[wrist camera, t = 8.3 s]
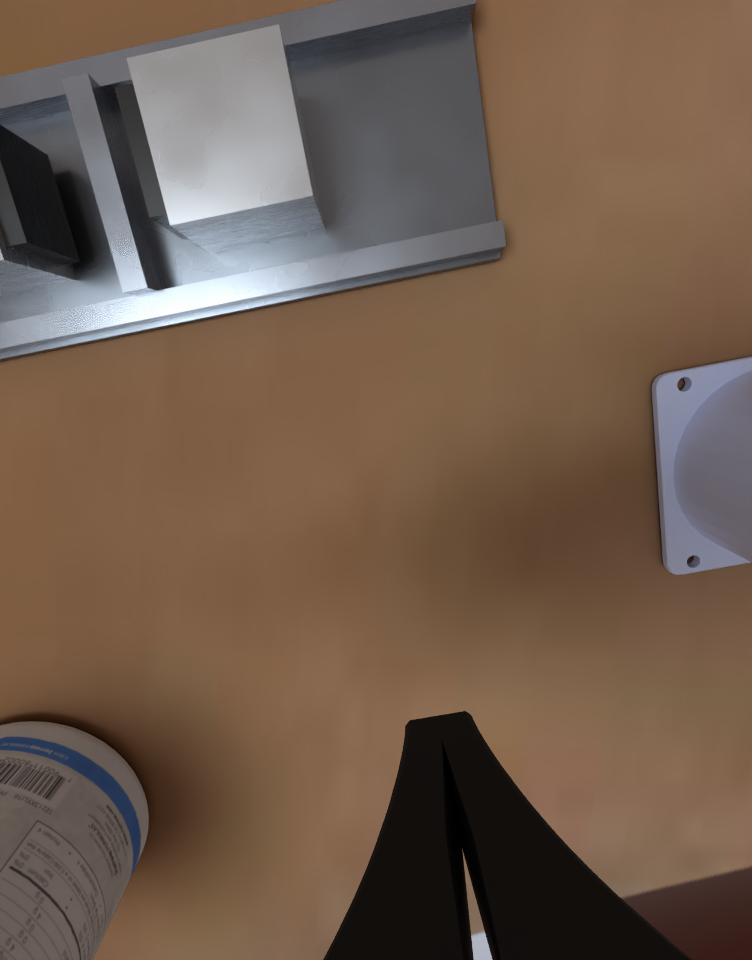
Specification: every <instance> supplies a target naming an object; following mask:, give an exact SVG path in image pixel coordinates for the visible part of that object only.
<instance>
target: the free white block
mask: <svg viewBox="0 0 752 960" xmlns="http://www.w3.org/2000/svg"><path fill="white" fill-rule="evenodd" d="M127 62H128V66H129V70H130V74H131V78H132V81H133V83H132V84H127V85H122V86H118V87H115V91H116V95H117V98H118V102H119V106H120V109H121V113H122V117H123V121H124V124H125V128H126V132H127V136H128V139H129V143H130V147H131V151H132V154H133V158H134V162H135V166H136V169H137V173H138V177H139V180H140V184H141V188H142V192H143V195H144V199H145V203H146V207H147V210H148V214H149V218H151V219H153V220H154V221H156V222H157V223H159V224H160V225H162V226H163V227H165V228H166V229H168V230H169V231H171V232H172V233H174V234H175V235H177V236H178V237H180V238H181V239H183V240H188V239H190V240H192V241H193V242H195V243H196V244H198V245H199V246H200V247H202V248H203V249H205V250H206V251H208V252H209V253H215V252H220V251H225V250H230V249H235V248H240V247H244V246H249V245H254V244H259V243H264V242H269V241H274V240H278V239H283V238H288V237H293V236H298V235H303V234H307V233H312V232H317V231H322V230H325V227H324V222H323V217H322V212H321V206H320V201H319V196H318V191H317V186H316V181H315V176H314V171H313V166H312V161H311V155H310V150H309V145H308V140H307V135H306V130H305V125H304V120H303V115H302V110H301V104H300V99H299V95H298V91H297V88H296V84H295V81H294V77H293V73H292V70H291V66H290V62H289V59H288V55H287V52H286V48H285V44H284V41H283V37H282V33H281V30H280V26H279V24H278V25H274V26H269V27H265V28H260V29H256V30H251V31H247V32H242V33H238V34H233V35H229V36H224V37H220V38H215V39H211V40H206V41H202V42H197V43H193V44H188V45H184V46H179V47H175V48H170V49H166V50H161V51H157V52H152V53H148V54H143V55H139V56H134V57H130V58H127Z"/></svg>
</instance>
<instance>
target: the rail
mask: <svg viewBox="0 0 752 960" xmlns="http://www.w3.org/2000/svg"><path fill="white" fill-rule="evenodd" d="M475 6H476V0H342V1H337V2H333V3H328V4H324V5H319V6H315V7H310V8H306V9H301V10H297V11H293V12H288V13H284V14H279V15H275V16H270V17H266V18H261V19H257V20H252V21H248V22H243V23H239V24H234V25H230V26H225V27H221V28H217V29H212V30H208V31H203V32H199V33H194V34H190V35H185V36H181V37H176V38H172V39H167V40H163V41H158V42H154V43H150V44H145V45H141V46H136V47H132V48H127V49H123V50H118V51H114V52H109V53H105V54H100V55H96V56H91V57H87V58H83V59H78V60H74V61H69V62H65V63H60V64H56V65H51V66H47V67H42V68H38V69H33V70H29V71H24V72H20V73H15V74H11V75H7V76H2V77H0V361H5V360H10V359H15V358H20V357H25V356H30V355H35V354H39V353H44V352H49V351H54V350H59V349H64V348H69V347H74V346H79V345H84V344H89V343H94V342H99V341H104V340H109V339H114V338H119V337H124V336H129V335H134V334H139V333H143V332H148V331H153V330H158V329H163V328H168V327H173V326H178V325H183V324H188V323H193V322H198V321H203V320H208V319H213V318H218V317H223V316H228V315H233V314H238V313H243V312H247V311H252V310H257V309H262V308H267V307H272V306H277V305H282V304H287V303H292V302H297V301H302V300H307V299H312V298H317V297H322V296H327V295H332V294H337V293H342V292H347V291H352V290H356V289H361V288H366V287H371V286H376V285H381V284H386V283H391V282H396V281H401V280H406V279H411V278H416V277H421V276H426V275H431V274H436V273H441V272H446V271H451V270H456V269H460V268H465V267H470V266H475V265H480V264H485V263H490V262H495V261H497V260H499V259H500V258H501V255H500V251H501V250H502V249H503V248H505V247H506V241H505V233H504V224H503V220H500V221H496V215H495V207H494V199H493V191H492V183H491V175H490V167H489V159H488V151H487V143H486V135H485V127H484V119H483V111H482V103H481V95H480V87H479V79H478V71H477V63H476V55H475V47H474V39H473V31H472V23H471V20H472V17H473V13H474V10H475ZM278 24H279V26H280V30H281V33H282V37H283V41H284V44H285V48H286V52H287V55H288V59H289V62H290V66H291V70H292V73H293V77H294V81H295V84H296V88H297V91H298V95H299V99H300V104H301V110H302V115H303V120H304V125H305V130H306V135H307V140H308V145H309V150H310V155H311V161H312V166H313V171H314V176H315V181H316V186H317V191H318V196H319V201H320V206H321V212H322V217H323V222H324V227H325V230H322V231H317V232H312V233H307V234H303V235H298V236H293V237H288V238H283V239H278V240H274V241H269V242H264V243H259V244H254V245H249V246H244V247H240V248H235V249H230V250H225V251H220V252H215V253H209V252H208V251H206V250H205V249H203V248H202V247H200V246H199V245H198V244H196V243H195V242H193V241H192V240H190V239H188V240H183V239H181V238H180V237H178V236H177V235H175V234H174V233H172V232H171V231H169V230H168V229H166V228H165V227H163V226H162V225H160V224H159V223H157V222H156V221H154V220H153V219H151V218H149V214H148V210H147V207H146V203H145V199H144V195H143V192H142V188H141V184H140V180H139V177H138V173H137V169H136V166H135V162H134V158H133V154H132V151H131V147H130V143H129V139H128V136H127V132H126V128H125V124H124V121H123V117H122V113H121V109H120V106H119V102H118V98H117V95H116V91H115V87H118V86H122V85H127V84H132V83H133V81H132V78H131V74H130V70H129V66H128V62H127V58H130V57H134V56H139V55H143V54H148V53H152V52H157V51H161V50H166V49H170V48H175V47H179V46H184V45H188V44H193V43H197V42H202V41H206V40H211V39H215V38H220V37H224V36H229V35H233V34H238V33H242V32H247V31H251V30H256V29H260V28H265V27H269V26H274V25H278Z"/></svg>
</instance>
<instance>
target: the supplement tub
mask: <svg viewBox="0 0 752 960" xmlns="http://www.w3.org/2000/svg"><path fill="white" fill-rule="evenodd" d="M148 828H149V814H148V806H147V800H146V796H145V793H144V791H143V788H142V786H141V783H140V782H139V780H138V778H137V776H136V774H135V773H134V771H133V770H132V768H131V767H130V766H129V765H128V763H127V762H126V761H125V760H124V759H123V758H122V757H121V756H120V755H119V754H118V753H117V752H116V751H115V750H114V749H113V748H111V747H110V746H109V745H107V744H106V743H104V742H103V741H101V740H99V739H98V738H96V737H94V736H92V735H90V734H88V733H86V732H84V731H81V730H79V729H76V728H73V727H70V726H66V725H61V724H57V723H51V722H38V721H27V722H15V723H10V724H4V725H0V960H93V958H94V956H95V954H96V952H97V949H98V947H99V945H100V943H101V941H102V939H103V937H104V934H105V932H106V930H107V928H108V926H109V924H110V922H111V920H112V917H113V915H114V913H115V911H116V909H117V907H118V904H119V902H120V900H121V898H122V896H123V894H124V891H125V889H126V887H127V885H128V883H129V881H130V879H131V876H132V874H133V872H134V869H135V867H136V865H137V863H138V861H139V858H140V856H141V854H142V851H143V849H144V846H145V842H146V839H147V834H148Z"/></svg>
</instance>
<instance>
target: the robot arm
mask: <svg viewBox="0 0 752 960" xmlns="http://www.w3.org/2000/svg"><path fill="white" fill-rule="evenodd" d="M680 378H683V379H684V380H685V386H684V387H683V389H682V390H679V389H678V387H677V383H678V381H679V380H680ZM652 402H653V417H654V432H655V448H656V463H657V478H658V494H659V509H660V524H661V539H662V555H663V564H664V567H665V568H666V569H667V570H668V571H669V572H671V573H673V574H675V575H683V574H689V573H694V572H700V571H706V570H711V569H717V568H723V567H728V566H734V565H740V564H745V563H751V562H752V356H750V357H745V358H740V359H735V360H729V361H724V362H719V363H714V364H709V365H703V366H698V367H693V368H688V369H682V370H677V371H672V372H667V373H663V374H660V375H659V376H658V377H656V378H655V380H654V382H653V383H652ZM693 555H694V559H693V561H692V562H691V563H689V564H687V559H688V558H689V557H690V556H693ZM462 849H463V852H462ZM463 853H464V856H465V860H466V864H467V867H468V871H469V875H470V878H471V882H472V886H473V889H474V893H475V897H476V900H477V904H478V908H479V911H480V915H481V919H482V922H483V926H484V930H485V933H486V937H487V941H488V944H489V948H490V952H491V955H492V959H493V960H692V959H691V958H690V957H689V956H687V955H686V954H685V953H684V952H682V951H681V950H680V949H679V948H677V947H676V946H675V945H674V944H672V943H671V942H670V941H669V940H668V939H667V938H665V937H664V936H663V935H662V934H661V933H660V932H659V931H657V930H656V929H655V928H654V927H653V926H652V925H651V924H650V923H648V922H647V921H646V920H645V919H644V918H643V917H642V916H640V915H639V914H638V913H637V912H636V911H635V910H634V909H632V908H631V907H630V906H629V905H628V904H626V902H624V901H623V900H622V899H621V898H620V897H619V896H618V895H617V894H615V893H614V892H613V891H612V890H611V889H610V888H609V887H608V886H607V885H606V884H605V883H604V882H603V881H602V880H601V879H600V878H599V877H598V876H597V875H596V874H595V873H594V872H593V871H592V870H591V869H590V868H589V867H588V866H587V865H586V864H585V863H584V862H583V861H582V860H581V859H580V858H579V857H578V856H577V855H576V854H575V853H574V852H573V851H572V850H571V849H570V848H569V847H568V846H567V845H566V844H565V843H564V841H563V840H562V839H561V838H560V837H559V836H558V835H557V834H556V833H555V832H554V830H553V829H552V828H551V827H550V826H549V825H548V824H547V822H546V821H545V820H544V819H543V818H542V817H541V815H540V814H539V813H538V812H537V811H536V809H535V808H534V807H533V806H532V805H531V804H530V802H529V801H528V800H527V799H526V797H525V796H524V795H523V794H522V792H521V791H520V790H519V788H518V787H517V786H516V784H515V783H514V782H513V780H512V779H511V778H510V776H509V775H508V774H507V772H506V771H505V770H504V768H503V767H502V766H501V764H500V763H499V761H498V760H497V759H496V757H495V756H494V754H493V752H492V751H491V749H490V748H489V746H488V745H487V743H486V742H485V740H484V738H483V737H482V735H481V733H480V732H479V730H478V728H477V726H476V724H475V722H474V720H473V718H472V716H471V715H470V714H469V713H468V712H466V711H463V712H457V713H451V714H445V715H439V716H433V717H428V718H422V719H416V720H410V721H409V722H408V723H407V725H406V726H405V738H404V745H403V751H402V756H401V761H400V765H399V770H398V774H397V778H396V782H395V785H394V789H393V793H392V796H391V800H390V803H389V807H388V810H387V813H386V816H385V819H384V822H383V825H382V828H381V831H380V834H379V836H378V839H377V842H376V845H375V848H374V851H373V853H372V856H371V858H370V861H369V864H368V866H367V868H366V871H365V873H364V876H363V878H362V880H361V883H360V885H359V887H358V890H357V892H356V894H355V897H354V899H353V901H352V903H351V905H350V907H349V909H348V912H347V914H346V916H345V918H344V920H343V922H342V924H341V926H340V928H339V930H338V932H337V934H336V936H335V938H334V940H333V942H332V944H331V946H330V948H329V950H328V952H327V954H326V956H325V958H324V959H323V960H473V950H472V940H471V930H470V920H469V911H468V901H467V891H466V881H465V871H464V861H463Z"/></svg>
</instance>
